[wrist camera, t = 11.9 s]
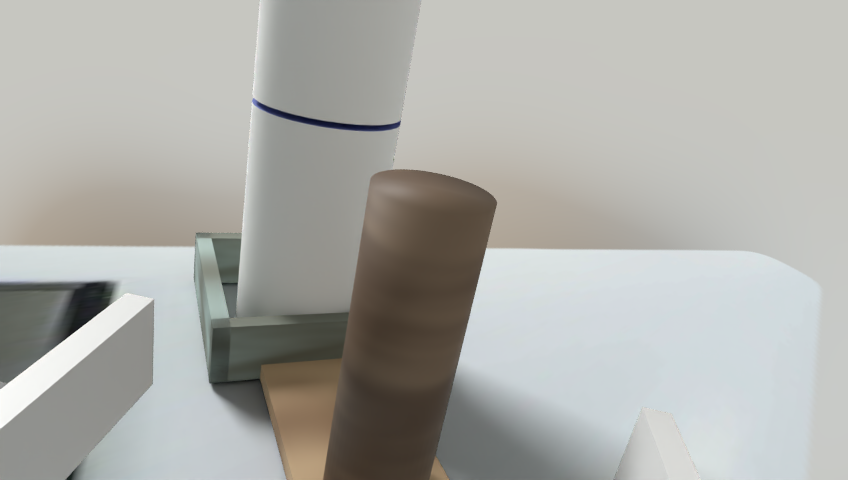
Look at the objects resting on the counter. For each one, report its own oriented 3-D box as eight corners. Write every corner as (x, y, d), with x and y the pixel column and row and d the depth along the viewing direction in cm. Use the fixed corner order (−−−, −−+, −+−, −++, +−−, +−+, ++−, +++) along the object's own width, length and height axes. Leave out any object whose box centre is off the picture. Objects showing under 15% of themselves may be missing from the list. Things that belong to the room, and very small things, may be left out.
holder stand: (518, 523, 24) (616, 224, 19) (239, 588, 19) (277, 216, 14) (358, 274, 41) (388, 87, 36) (193, 277, 37) (203, 64, 32)
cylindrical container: (207, 340, 31) (239, -237, 22) (276, 287, 38) (324, -175, 28) (331, 383, 30) (422, -214, 21) (381, 321, 36) (467, -154, 27)
